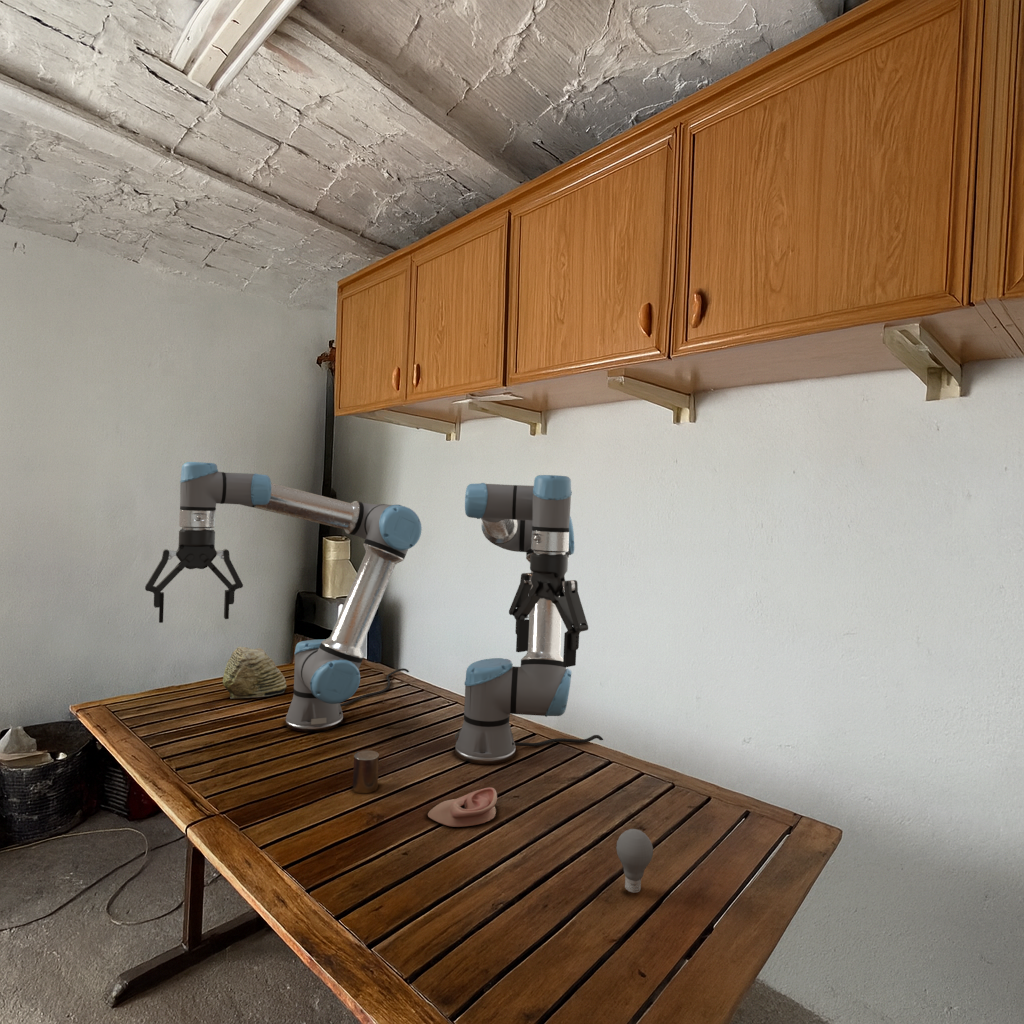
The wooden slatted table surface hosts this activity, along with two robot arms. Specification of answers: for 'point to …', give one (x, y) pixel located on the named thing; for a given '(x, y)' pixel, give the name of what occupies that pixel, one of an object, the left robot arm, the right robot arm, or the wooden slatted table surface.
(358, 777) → the canister
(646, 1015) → the wooden slatted table surface
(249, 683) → the fossil
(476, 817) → the anatomical model
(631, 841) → the light bulb
